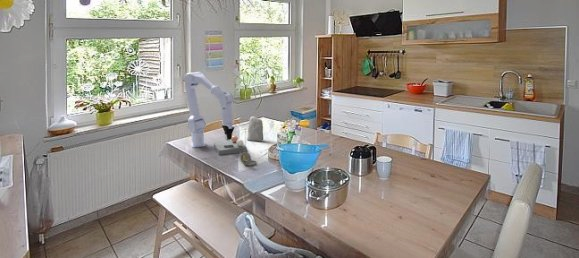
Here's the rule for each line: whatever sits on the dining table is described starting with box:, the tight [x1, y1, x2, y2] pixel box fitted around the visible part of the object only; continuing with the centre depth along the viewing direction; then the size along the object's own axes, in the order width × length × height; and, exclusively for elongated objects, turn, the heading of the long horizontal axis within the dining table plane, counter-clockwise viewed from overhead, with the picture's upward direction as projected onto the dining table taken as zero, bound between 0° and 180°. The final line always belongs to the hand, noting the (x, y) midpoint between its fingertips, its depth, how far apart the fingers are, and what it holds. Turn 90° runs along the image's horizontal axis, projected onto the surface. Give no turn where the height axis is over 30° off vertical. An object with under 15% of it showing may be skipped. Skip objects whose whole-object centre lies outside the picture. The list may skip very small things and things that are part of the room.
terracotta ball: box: [230, 135, 239, 142], centre depth 223 cm, size 4×4×4 cm
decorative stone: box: [246, 115, 264, 142], centre depth 235 cm, size 11×6×15 cm, turn 58°
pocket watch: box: [239, 148, 257, 167], centre depth 191 cm, size 8×8×10 cm
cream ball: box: [236, 138, 244, 146], centre depth 215 cm, size 4×4×4 cm
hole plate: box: [212, 140, 248, 156], centre depth 219 cm, size 17×16×2 cm
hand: (228, 138), depth 214 cm, fingers closed on steel ball, 4 cm apart
